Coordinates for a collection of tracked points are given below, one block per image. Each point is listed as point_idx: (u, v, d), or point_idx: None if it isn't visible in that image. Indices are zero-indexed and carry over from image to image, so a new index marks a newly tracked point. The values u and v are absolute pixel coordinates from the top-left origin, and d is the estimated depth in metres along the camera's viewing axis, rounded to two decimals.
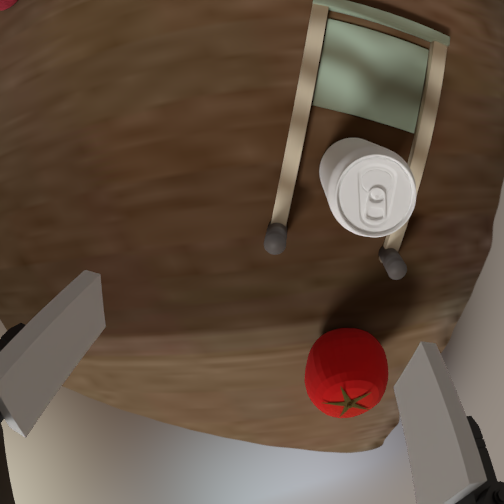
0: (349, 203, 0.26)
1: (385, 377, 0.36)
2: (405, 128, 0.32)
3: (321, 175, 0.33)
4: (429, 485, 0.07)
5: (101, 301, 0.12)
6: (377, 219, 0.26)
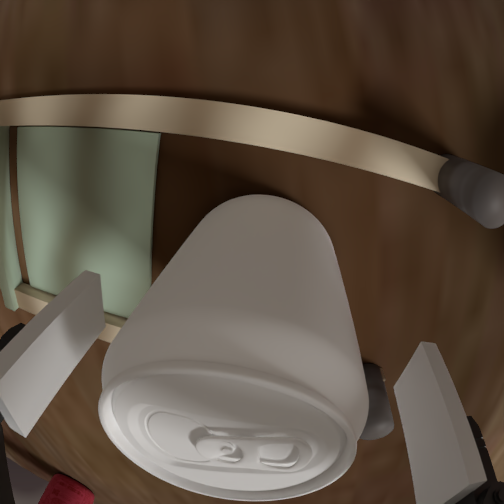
0: (252, 483, 0.08)
1: None
2: (151, 155, 0.16)
3: None
4: (429, 485, 0.07)
5: (101, 301, 0.12)
6: (299, 444, 0.07)
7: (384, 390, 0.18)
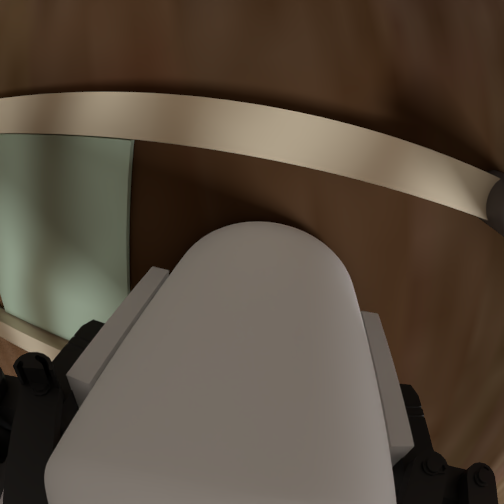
0: None
1: None
2: (123, 168, 0.12)
3: None
4: None
5: None
6: None
7: None
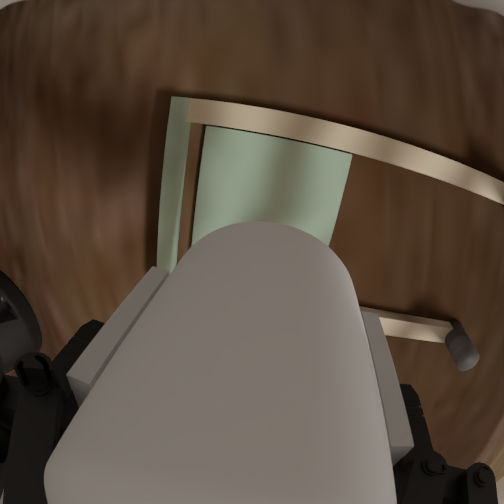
0: None
1: None
2: (345, 169, 0.23)
3: None
4: None
5: None
6: None
7: None
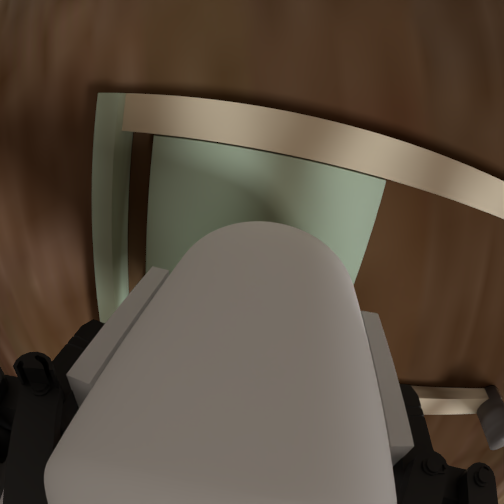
0: None
1: None
2: (374, 203, 0.14)
3: None
4: None
5: None
6: None
7: None
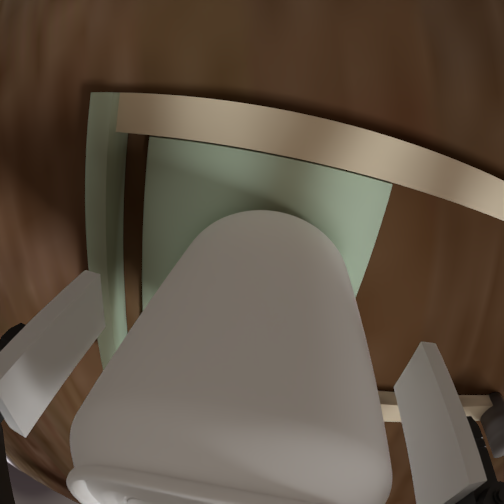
0: None
1: None
2: (380, 208, 0.13)
3: None
4: (429, 485, 0.07)
5: (101, 301, 0.12)
6: None
7: None
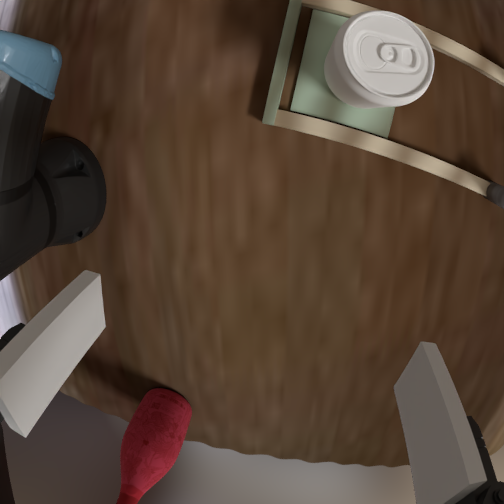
0: (399, 84, 0.19)
1: None
2: None
3: (367, 107, 0.27)
4: (429, 485, 0.07)
5: (101, 301, 0.12)
6: (414, 55, 0.18)
7: None
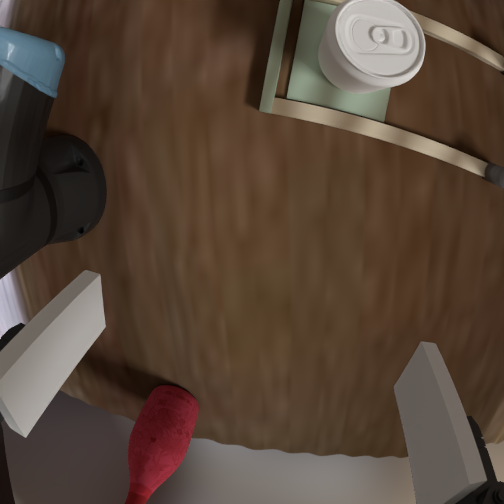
0: (392, 64, 0.19)
1: None
2: None
3: (362, 91, 0.27)
4: (429, 485, 0.07)
5: (101, 301, 0.12)
6: (405, 36, 0.18)
7: None
